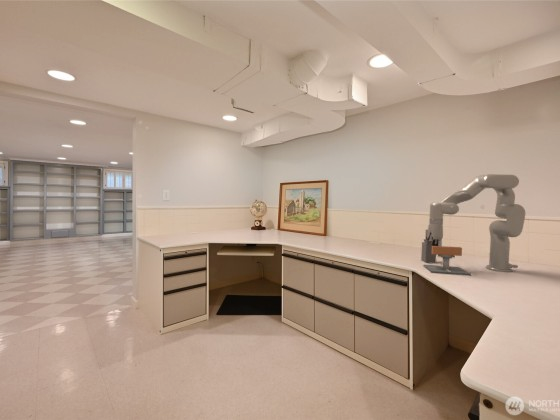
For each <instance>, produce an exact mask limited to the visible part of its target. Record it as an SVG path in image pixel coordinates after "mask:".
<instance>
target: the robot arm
mask: <svg viewBox="0 0 560 420" xmlns="http://www.w3.org/2000/svg"><path fill="white" fill-rule="evenodd" d="M519 183H520V179H519V177H518V176H517V175H514V174H490V173H489V174H481V175H480V174H479V175H478V176H476V177H474V178H473V179H472V180H471V181H470V182H469V183H467V184H466V185H464V187H462V188H461V189H460V190H458V191H456V192H454V193H452V194H450V195H449V196H447V197H446V198H444V199H443V200H442V201H441V202H432V203H430V205H429V224H428V226H427V229H428V232H427V238H428V239H429V241H431V243H432V246H438V244H439V241H441V239H442V240H443V237H444V215H450V216H453V215H456V214H457V213H459V211H460V207H459V205H460V203H464V202H467V201H470V200H472V199H474V198H476V196H477V195H478V194H480V193H481V192H482V191H484V190H485V189H493V190H494V192H496V196H497V197H496V202H495V211H494V215H495V217H497V218H500V219H501V220H500V219H497V220H494V221H491V223H490V224H489V227H488V229H489V230H488V231H489V235H490V238H489V239H490V240H489V242H490V246H489V261H488V264H487V265H485V267H486V269H488V270H492V271H495V272H504V273H510V272H513V269H512V268H514V269H518V267H519V265H518V264H513V263H510V250H511V249H510V246H511V242H510V238H517V237H519V236H521V234H522V232H523V230H524V229H523V228H524V224H525V218H526V210H525V208H524V207H523V205H521V204H517V203H515V202H516V201H515V200H516V195H515V191H514V189H515V188H517V187H518V186H519ZM458 204H459V205H458ZM502 219H504V220H502ZM505 219H506V220H505Z"/></svg>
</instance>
